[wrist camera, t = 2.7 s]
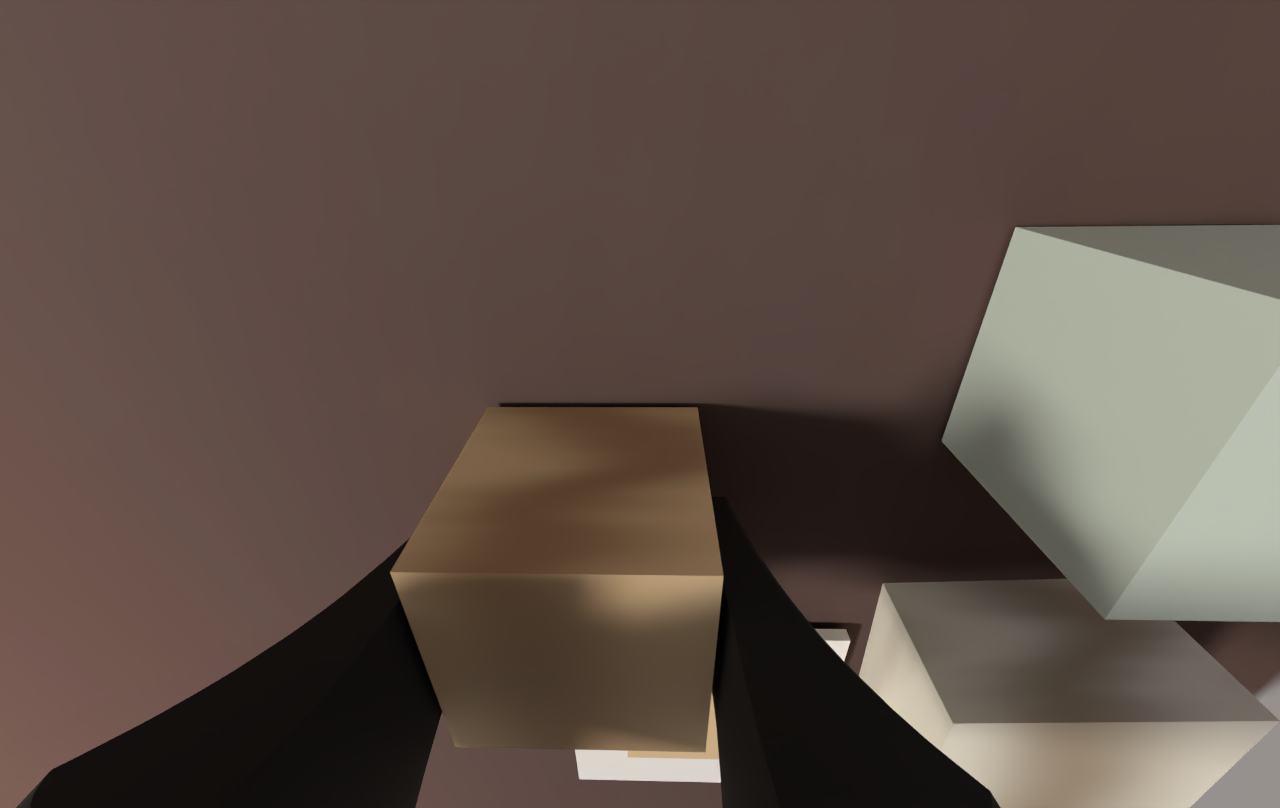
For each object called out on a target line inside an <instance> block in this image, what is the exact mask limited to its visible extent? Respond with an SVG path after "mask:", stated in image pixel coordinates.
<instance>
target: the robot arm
mask: <svg viewBox="0 0 1280 808" xmlns="http://www.w3.org/2000/svg"><path fill="white" fill-rule="evenodd" d="M711 498H712V504H713V511H714V517H715V524H716V530H717V537H718V543H719V550H720V556H721V563H722V569H723V576H724V577H723V586H722V596H721V606H720V616H719V625H718V635H717V645H716V655H715V664H714V674H713V684H712V696H713V702H714V710H715V718H716V727H717V740H718V752H719V764H720V777H721V790H722V803H723V808H1001V807H1000V806H999V804H998V803H997V801H996V799H995V798H994V796H993V795H992V793H991V791H990V790H988V789H987V788H986V787H985V786H984V785H982V784H981V783H980V782H979V781H977V780H976V779H975V778H974V777H972V776H971V775H970V774H969V773H967V772H966V771H965V770H964V769H962V768H961V767H960V766H959V765H957V764H956V763H955V762H954V761H952V760H951V759H950V758H949V757H948V756H946V755H945V754H944V753H943V752H941V751H940V750H939V749H938V748H936V747H935V746H934V745H933V744H932V743H930V742H929V741H928V740H927V739H926V738H924V737H923V736H922V735H921V734H920V733H919V732H918V731H917V730H916V729H914V728H913V727H912V726H911V725H910V724H909V723H908V722H907V721H905V720H904V719H903V718H902V717H901V716H900V715H899V714H898V713H896V712H895V711H894V710H893V709H892V708H891V707H890V706H889V705H888V704H887V703H886V702H885V701H884V700H883V699H882V698H881V697H880V696H879V695H878V694H877V693H876V692H875V691H874V690H872V689H871V688H870V687H869V686H868V685H867V684H866V683H865V682H864V681H863V680H862V679H861V678H860V677H859V676H858V675H857V674H856V673H855V672H854V671H853V670H852V669H851V668H850V667H849V666H848V665H847V664H846V663H845V662H844V661H843V660H842V659H841V658H840V656H839V655H838V654H837V653H836V652H835V651H834V650H833V649H832V648H831V647H830V646H829V645H828V644H827V642H826V641H825V640H824V639H823V638H822V637H821V636H820V634H819V633H818V632H817V631H816V630H815V629H814V628H813V626H812V625H811V624H810V623H809V622H808V621H807V619H806V618H805V617H804V616H803V614H802V613H801V612H800V611H799V609H798V608H797V607H796V606H795V604H794V603H793V602H792V601H791V599H790V598H789V597H788V595H787V594H786V593H785V591H784V590H783V589H782V587H781V586H780V585H779V583H778V582H777V580H776V579H775V578H774V576H773V575H772V573H771V572H770V570H769V569H768V567H767V566H766V564H765V563H764V561H763V560H762V558H761V557H760V555H759V554H758V552H757V551H756V549H755V548H754V546H753V545H752V543H751V541H750V540H749V538H748V536H747V535H746V533H745V531H744V530H743V528H742V526H741V524H740V523H739V521H738V519H737V517H736V515H735V513H734V511H733V509H732V507H731V505H730V503H729V501H728V500H727V499H726V498H725V497H711ZM410 538H411V537H410ZM410 538H409V539H410ZM409 539H408V540H407V541H406V542H405V543H404V544H403V545H401V546H400V547H399V548H398V549H397V550H396V551H395V552H394V553H393V554H392V555H390V556H389V557H388V558H387V559H386V560H385V561H384V562H382V563H381V564H380V565H379V566H378V567H376V568H375V569H374V570H373V571H372V572H370V573H369V574H368V575H367V576H366V577H365V578H363V579H362V580H361V581H360V582H359V583H357V584H356V585H355V586H354V587H353V588H351V589H350V590H349V591H348V592H347V593H345V594H344V595H343V596H342V597H340V598H339V599H338V600H336V601H335V602H334V603H332V604H331V605H330V606H329V607H327V608H326V609H325V610H323V611H322V612H321V613H319V614H318V615H316V616H315V617H314V618H312V619H311V620H309V621H308V622H307V623H305V624H304V625H303V626H301V627H300V628H298V629H297V630H296V631H294V632H293V633H291V634H290V635H288V636H287V637H285V638H284V639H282V640H281V641H279V642H278V643H276V644H275V645H273V646H272V647H270V648H269V649H267V650H265V651H264V652H262V653H261V654H259V655H258V656H256V657H255V658H253V659H252V660H250V661H248V662H247V663H245V664H244V665H242V666H241V667H239V668H238V669H236V670H235V671H233V672H231V673H230V674H228V675H226V676H225V677H223V678H221V679H220V680H218V681H216V682H215V683H213V684H211V685H210V686H208V687H206V688H205V689H203V690H201V691H200V692H198V693H196V694H194V695H193V696H191V697H189V698H187V699H186V700H184V701H182V702H180V703H179V704H177V705H175V706H173V707H171V708H170V709H168V710H166V711H164V712H163V713H161V714H159V715H157V716H155V717H153V718H152V719H150V720H148V721H146V722H144V723H142V724H141V725H139V726H137V727H135V728H133V729H131V730H129V731H127V732H125V733H123V734H121V735H119V736H117V737H115V738H113V739H111V740H109V741H107V742H106V743H104V744H102V745H100V746H98V747H96V748H94V749H92V750H90V751H88V752H86V753H84V754H82V755H80V756H78V757H76V758H74V759H72V760H70V761H68V762H66V763H64V764H62V765H60V766H58V767H56V768H54V769H52V770H51V771H50V772H49V773H48V774H47V775H46V776H45V777H44V778H43V780H42V781H41V782H40V783H39V784H38V785H37V786H36V787H35V788H34V789H33V790H32V791H31V792H30V793H29V795H28V796H27V797H26V798H25V799H24V800H23V801H22V802H21V803H20V804H19V805H18V806H17V807H16V808H415V806H416V803H417V799H418V795H419V791H420V788H421V784H422V780H423V776H424V773H425V769H426V765H427V762H428V758H429V755H430V751H431V748H432V744H433V741H434V737H435V734H436V730H437V727H438V723H439V720H440V716H441V714H442V709H441V707H440V704H439V701H438V699H437V696H436V693H435V691H434V688H433V685H432V683H431V680H430V677H429V675H428V672H427V669H426V667H425V664H424V661H423V659H422V656H421V653H420V651H419V648H418V646H417V643H416V640H415V638H414V635H413V632H412V630H411V627H410V624H409V622H408V619H407V616H406V614H405V611H404V608H403V606H402V603H401V600H400V598H399V595H398V592H397V590H396V587H395V584H394V582H393V579H392V576H391V574H390V571H391V570H392V568H393V566H394V565H395V563H396V561H397V560H398V558H399V556H400V555H401V553H402V551H403V549H404V548H405V546H406V544H407V543H408V541H409Z"/></svg>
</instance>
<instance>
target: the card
mask: <svg viewBox="0 0 1280 808" xmlns="http://www.w3.org/2000/svg"><path fill="white" fill-rule="evenodd" d="M815 630H816V631H817V632H818V633H819V634H820V636H821V637H822V638H823V639H824V640H825V641H826V642H827V644H828V645H829V646H830V647H831V648H832V649H833V650H834V651H835V652H836V653H837V654H838V655H839V656H840V658H841V659H842V660H843V661H844V660H845V657H846V654H847V651H848V648H849V644H850V638H849V635H848V633H847V630H846V629H815ZM575 753H576V759H577V766H578V773H579V779H595V780H638V781H681V782H721V777H720V764H719V752H718V740H717V727H716V718H715V710H714V702H713V696H712V694H711V703H710V713H709V723H708V733H707V742H706V752H667V751H620V750H575Z"/></svg>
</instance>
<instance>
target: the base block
mask: <svg viewBox="0 0 1280 808" xmlns="http://www.w3.org/2000/svg"><path fill="white" fill-rule="evenodd" d="M859 677H860V678H861V679H862V680H863V681H864V682H865V683H866V684H867V685H868V686H869V687H870V688H871V689H872V690H874V691H875V692H876V693H877V694H878V695H879V696H880V697H881V698H882V699H883V700H884V701H885V702H886V703H887V704H888V705H889V706H890V707H891V708H892V709H893V710H894V711H895V712H896V713H898V714H899V715H900V716H901V717H902V718H903V719H904V720H905V721H907V722H908V723H909V724H910V725H911V726H912V727H913V728H914V729H916V730H917V731H918V732H919V733H920V734H921V735H922V736H923V737H924V738H926V739H927V740H928V741H929V742H930V743H932V744H933V745H934V746H935V747H936V748H938V749H939V750H940V751H941V752H943V753H944V754H945V755H946V756H948V757H949V758H950V759H951V760H952V761H954V762H955V763H956V764H957V765H959V766H960V767H961V768H962V769H964V770H965V771H966V772H967V773H969V774H970V775H971V776H972V777H974V778H975V779H976V780H977V781H979V782H980V783H981V784H982V785H984V786H985V787H986V788H987V789H988V790H990V791H991V793H992V795H993V796H994V798H995V799H996V801H997V803H998V804H999V806H1000V807H1001V808H1189V807H1191V806H1192V805H1193V804H1194V803H1195V802H1196V801H1197V800H1198V799H1199V798H1200V797H1201V796H1202V795H1203V794H1204V793H1205V792H1206V791H1207V790H1208V789H1209V788H1210V787H1211V786H1212V785H1214V784H1215V783H1216V782H1217V781H1218V779H1220V778H1221V777H1222V776H1223V775H1224V774H1225V773H1226V772H1227V771H1228V770H1229V769H1230V768H1231V767H1232V766H1233V765H1234V764H1235V763H1237V762H1238V761H1239V760H1240V759H1241V758H1242V757H1243V756H1244V755H1245V754H1246V753H1247V752H1248V751H1249V750H1250V749H1251V748H1252V747H1253V746H1254V745H1255V744H1256V743H1257V742H1258V741H1259V740H1260V739H1262V738H1263V737H1264V736H1265V735H1266V734H1267V733H1268V732H1269V731H1270V730H1271V729H1272V728H1273V727H1274V726H1275V725H1276V724H1277V723H1278V722H1279V720H1278V719H1277V718H1276V717H1275V716H1274V715H1273V714H1272V713H1271V712H1270V711H1269V710H1268V709H1267V708H1266V707H1265V706H1263V705H1262V704H1261V703H1260V702H1259V701H1258V700H1257V699H1256V698H1255V697H1254V696H1253V695H1252V694H1251V693H1250V692H1249V691H1248V690H1247V689H1246V688H1245V687H1244V686H1243V685H1241V684H1240V683H1239V682H1238V681H1237V680H1236V679H1235V678H1234V677H1233V676H1232V675H1231V674H1230V673H1229V672H1228V671H1227V670H1226V669H1225V668H1224V667H1223V666H1221V665H1220V664H1219V663H1218V662H1217V661H1216V660H1215V659H1214V658H1213V657H1212V656H1211V655H1210V654H1209V653H1208V652H1207V651H1206V650H1205V649H1204V648H1203V647H1202V646H1200V645H1199V644H1198V643H1197V642H1196V641H1195V640H1194V639H1193V638H1192V637H1191V636H1190V635H1189V634H1188V633H1187V632H1186V631H1185V630H1184V629H1183V628H1182V627H1181V626H1179V625H1178V624H1177V623H1176V622H1175V621H1174V620H1105V619H1104V618H1103V617H1102V616H1101V615H1100V614H1099V613H1098V612H1097V611H1096V609H1095V608H1094V607H1093V606H1092V605H1091V604H1090V603H1089V602H1088V601H1087V600H1086V599H1085V597H1084V596H1083V595H1082V594H1081V593H1080V592H1079V591H1078V590H1077V589H1076V588H1075V587H1074V585H1073V584H1072V583H1071V582H1070V581H1069V580H1068V579H1037V580H995V581H953V582H911V583H883V585H882V589H881V593H880V596H879V600H878V604H877V608H876V612H875V616H874V620H873V624H872V627H871V631H870V635H869V639H868V643H867V647H866V651H865V655H864V658H863V662H862V666H861V670H860V674H859Z"/></svg>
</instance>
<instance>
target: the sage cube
mask: <svg viewBox="0 0 1280 808" xmlns="http://www.w3.org/2000/svg"><path fill="white" fill-rule="evenodd" d="M942 442H943V443H944V445H945V446H946V447H947V448H948V449H949V450H950V451H951V452H952V453H953V454H954V455H955V457H956V458H957V459H958V460H959V461H960V462H961V463H962V464H963V465H964V466H965V467H966V469H967V470H968V471H969V472H970V473H971V474H972V475H973V476H974V477H975V478H976V479H977V481H978V482H979V483H980V484H981V485H982V486H983V487H984V488H985V489H986V490H987V491H988V493H989V494H990V495H991V496H992V497H993V498H994V499H995V500H996V501H997V502H998V504H999V505H1000V506H1001V507H1002V508H1003V509H1004V510H1005V511H1006V512H1007V513H1008V514H1009V516H1010V517H1011V518H1012V519H1013V520H1014V521H1015V522H1016V523H1017V524H1018V525H1019V526H1020V528H1021V529H1022V530H1023V531H1024V532H1025V533H1026V534H1027V535H1028V536H1029V537H1030V538H1031V540H1032V541H1033V542H1034V543H1035V544H1036V545H1037V546H1038V547H1039V548H1040V549H1041V550H1042V552H1043V553H1044V554H1045V555H1046V556H1047V557H1048V558H1049V559H1050V560H1051V561H1052V562H1053V564H1054V565H1055V566H1056V567H1057V568H1058V569H1059V570H1060V571H1061V572H1062V573H1063V575H1064V576H1065V577H1066V578H1067V579H1068V580H1069V581H1070V582H1071V583H1072V584H1073V585H1074V587H1075V588H1076V589H1077V590H1078V591H1079V592H1080V593H1081V594H1082V595H1083V596H1084V597H1085V599H1086V600H1087V601H1088V602H1089V603H1090V604H1091V605H1092V606H1093V607H1094V608H1095V609H1096V611H1097V612H1098V613H1099V614H1100V615H1101V616H1102V617H1103V618H1104V619H1105V620H1176V621H1247V622H1280V225H1196V226H1077V227H1015V230H1014V233H1013V236H1012V239H1011V242H1010V244H1009V247H1008V250H1007V253H1006V256H1005V259H1004V262H1003V265H1002V268H1001V270H1000V273H999V276H998V279H997V282H996V285H995V288H994V291H993V294H992V296H991V299H990V302H989V305H988V308H987V311H986V314H985V317H984V320H983V322H982V325H981V328H980V331H979V334H978V337H977V340H976V343H975V345H974V348H973V351H972V354H971V357H970V360H969V363H968V366H967V369H966V371H965V374H964V377H963V380H962V383H961V386H960V389H959V392H958V395H957V397H956V400H955V403H954V406H953V409H952V412H951V415H950V418H949V421H948V423H947V426H946V429H945V432H944V435H943V438H942Z"/></svg>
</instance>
